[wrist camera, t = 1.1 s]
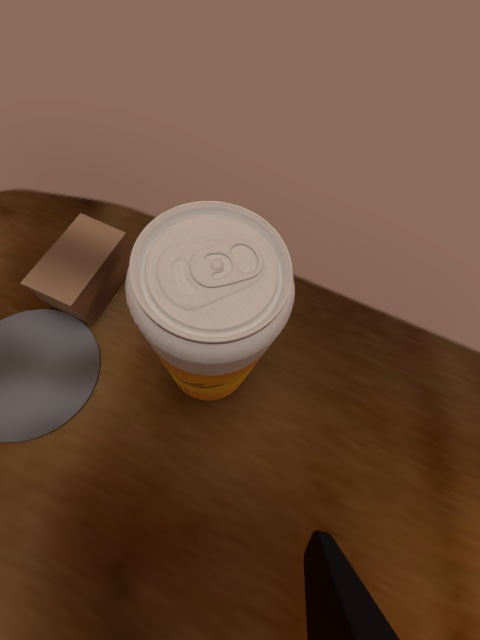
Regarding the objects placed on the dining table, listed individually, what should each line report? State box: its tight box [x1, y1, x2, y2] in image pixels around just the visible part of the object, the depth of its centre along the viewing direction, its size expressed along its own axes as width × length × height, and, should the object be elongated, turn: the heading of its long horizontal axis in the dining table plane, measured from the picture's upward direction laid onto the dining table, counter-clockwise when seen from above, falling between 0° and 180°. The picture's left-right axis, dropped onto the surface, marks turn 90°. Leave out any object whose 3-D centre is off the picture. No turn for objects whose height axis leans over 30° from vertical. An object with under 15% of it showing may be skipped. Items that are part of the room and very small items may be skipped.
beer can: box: [125, 201, 295, 401], centre depth 16 cm, size 6×6×15 cm
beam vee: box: [0, 213, 132, 442], centre depth 20 cm, size 15×20×4 cm
